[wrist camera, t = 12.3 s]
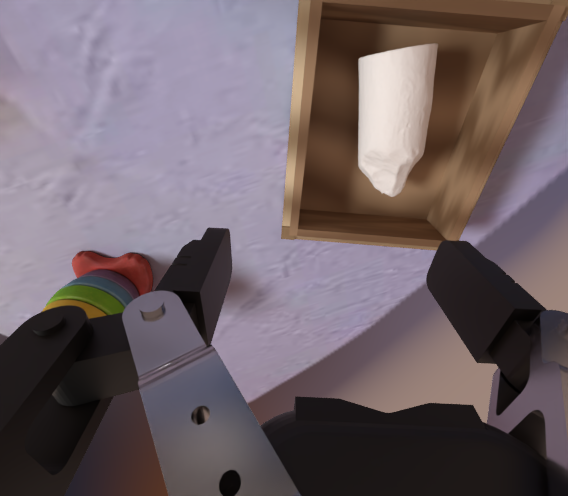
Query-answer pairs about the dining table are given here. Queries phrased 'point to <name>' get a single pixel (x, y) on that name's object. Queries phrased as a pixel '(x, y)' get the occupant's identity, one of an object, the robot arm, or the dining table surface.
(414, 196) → the upper crate
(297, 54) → the box
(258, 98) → the dining table surface
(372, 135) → the roll
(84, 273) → the stacking bear
